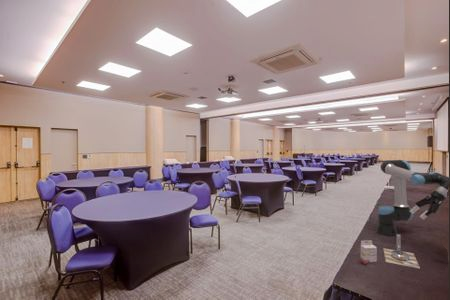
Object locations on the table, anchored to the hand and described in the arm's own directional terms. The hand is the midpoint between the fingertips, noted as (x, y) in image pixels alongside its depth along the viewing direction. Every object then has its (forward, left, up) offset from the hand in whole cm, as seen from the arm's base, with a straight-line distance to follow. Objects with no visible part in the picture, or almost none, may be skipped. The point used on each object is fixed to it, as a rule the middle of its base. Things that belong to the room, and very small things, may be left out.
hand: (416, 215), depth 165 cm
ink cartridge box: (+26, -30, -30) cm, 49 cm away
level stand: (+12, -11, -29) cm, 33 cm away
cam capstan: (+12, -11, -28) cm, 32 cm away
